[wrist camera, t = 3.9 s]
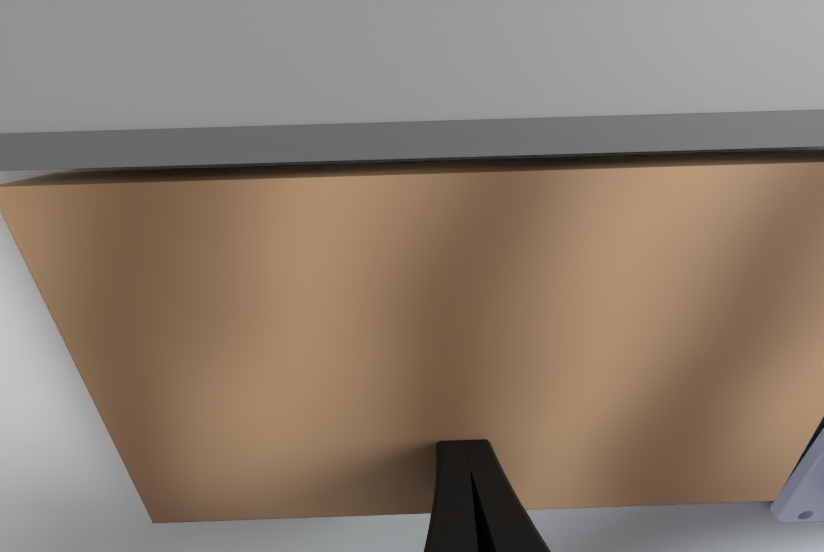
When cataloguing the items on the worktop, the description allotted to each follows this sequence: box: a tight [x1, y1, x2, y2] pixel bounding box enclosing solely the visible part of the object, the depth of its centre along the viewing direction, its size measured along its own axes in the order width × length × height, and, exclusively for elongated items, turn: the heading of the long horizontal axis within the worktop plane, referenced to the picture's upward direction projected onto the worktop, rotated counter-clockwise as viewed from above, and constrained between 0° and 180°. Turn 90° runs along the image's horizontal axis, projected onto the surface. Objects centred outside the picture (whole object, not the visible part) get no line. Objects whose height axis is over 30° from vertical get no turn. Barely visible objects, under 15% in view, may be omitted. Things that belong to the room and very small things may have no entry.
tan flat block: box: [0, 150, 824, 523], centre depth 10 cm, size 18×10×2 cm, turn 91°
